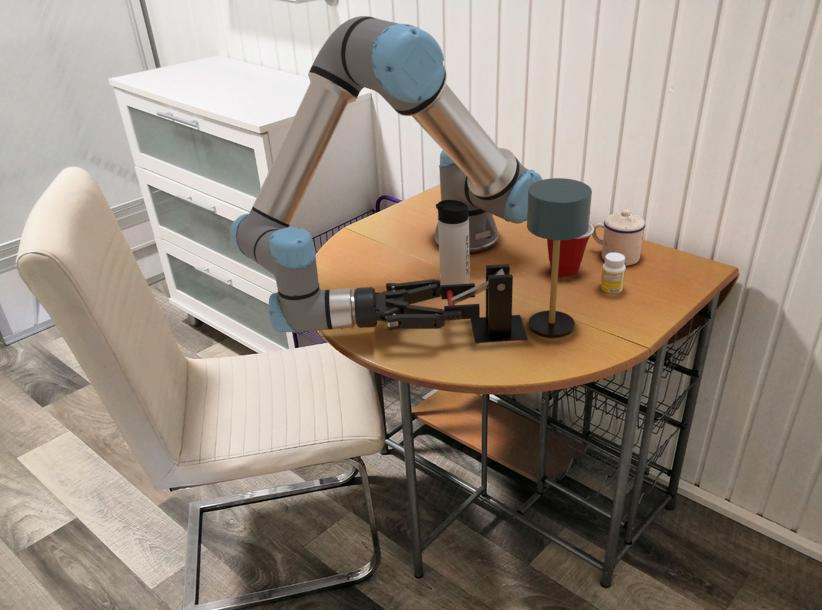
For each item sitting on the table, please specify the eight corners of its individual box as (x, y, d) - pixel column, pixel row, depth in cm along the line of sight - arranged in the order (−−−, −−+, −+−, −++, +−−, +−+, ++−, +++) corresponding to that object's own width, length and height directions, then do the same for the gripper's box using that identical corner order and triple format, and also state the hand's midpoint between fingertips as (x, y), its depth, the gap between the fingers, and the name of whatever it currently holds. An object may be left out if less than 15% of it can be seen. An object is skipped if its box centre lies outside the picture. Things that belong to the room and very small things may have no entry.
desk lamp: (519, 317, 149) (523, 179, 133) (572, 313, 150) (583, 176, 133) (528, 347, 140) (534, 204, 124) (585, 343, 141) (598, 200, 124)
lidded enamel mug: (646, 254, 171) (652, 207, 164) (632, 270, 164) (638, 222, 158) (597, 243, 176) (602, 196, 169) (582, 258, 170) (586, 211, 163)
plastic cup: (598, 282, 161) (603, 231, 154) (551, 289, 158) (554, 238, 151) (577, 259, 169) (582, 211, 162) (533, 266, 167) (535, 217, 160)
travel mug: (434, 286, 160) (431, 199, 148) (462, 280, 162) (461, 194, 150) (445, 300, 155) (442, 211, 144) (474, 293, 157) (473, 205, 146)
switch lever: (452, 317, 137) (446, 308, 136) (449, 298, 143) (443, 289, 142) (511, 290, 135) (505, 280, 134) (505, 272, 141) (500, 262, 139)
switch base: (475, 348, 140) (474, 284, 132) (470, 322, 148) (469, 261, 140) (527, 344, 141) (529, 281, 133) (519, 319, 148) (521, 258, 140)
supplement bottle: (609, 284, 160) (613, 249, 155) (627, 292, 157) (631, 256, 152) (595, 292, 157) (599, 256, 152) (613, 300, 154) (617, 264, 149)
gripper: (358, 298, 148) (471, 291, 150) (355, 354, 132) (483, 346, 134) (354, 265, 144) (471, 258, 146) (351, 319, 128) (483, 310, 129)
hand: (476, 300), depth 140 cm, fingers closed on switch lever, 7 cm apart
